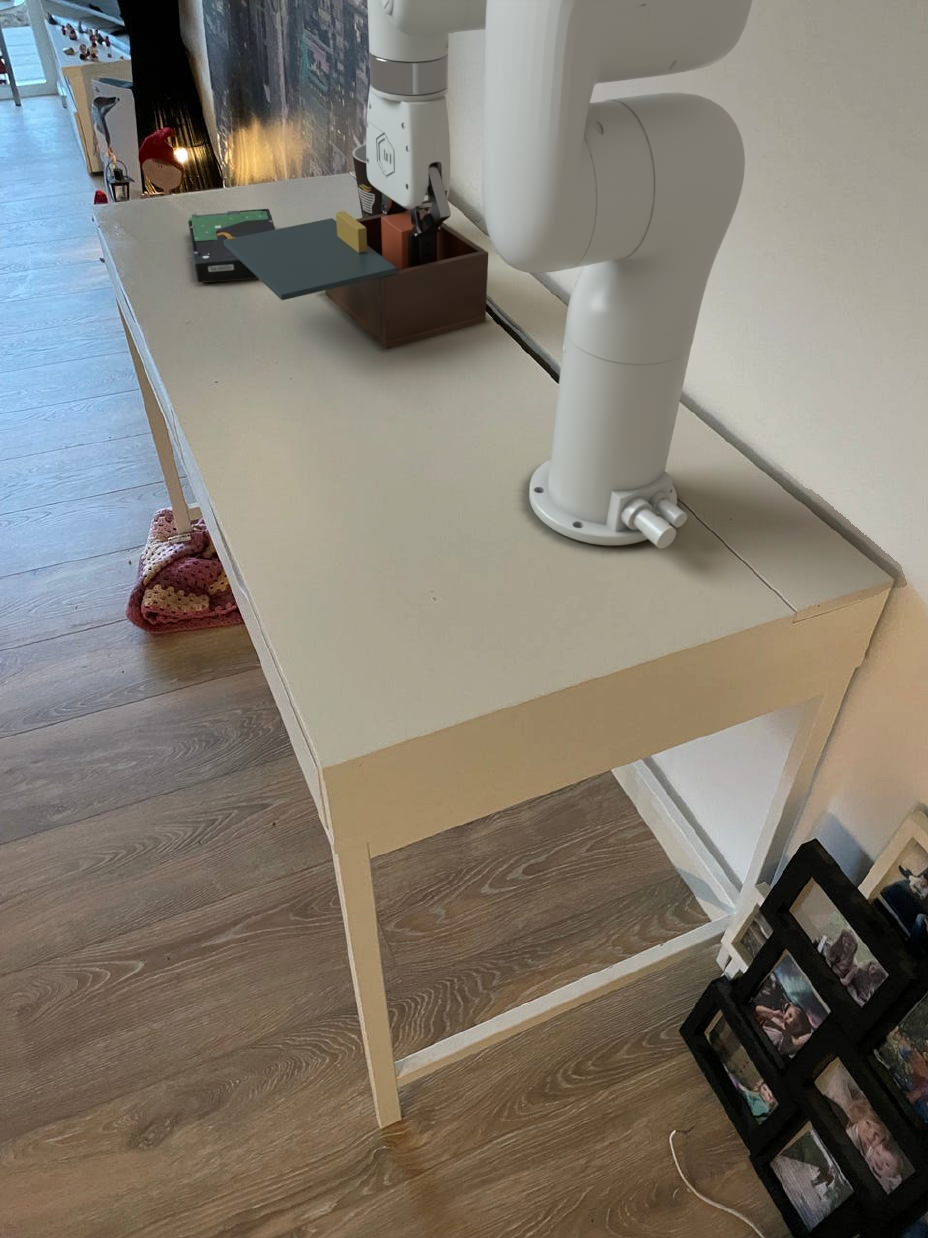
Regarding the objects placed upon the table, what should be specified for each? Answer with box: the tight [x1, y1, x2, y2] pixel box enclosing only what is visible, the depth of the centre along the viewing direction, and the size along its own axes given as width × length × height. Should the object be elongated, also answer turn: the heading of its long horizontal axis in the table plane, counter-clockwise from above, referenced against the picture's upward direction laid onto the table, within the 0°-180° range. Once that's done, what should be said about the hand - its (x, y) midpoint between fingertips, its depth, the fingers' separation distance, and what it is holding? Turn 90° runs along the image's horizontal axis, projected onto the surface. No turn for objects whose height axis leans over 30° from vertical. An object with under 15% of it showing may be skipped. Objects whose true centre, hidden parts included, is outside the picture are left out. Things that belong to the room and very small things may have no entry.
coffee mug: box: [351, 143, 429, 218], centre depth 116 cm, size 12×9×10 cm
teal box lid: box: [224, 210, 397, 301], centre depth 96 cm, size 15×13×3 cm
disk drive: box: [187, 208, 276, 283], centre depth 114 cm, size 10×3×15 cm
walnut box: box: [324, 209, 489, 349], centre depth 104 cm, size 15×13×8 cm
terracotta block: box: [381, 211, 438, 270], centre depth 102 cm, size 4×4×4 cm
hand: (410, 258), depth 103 cm, fingers closed on terracotta block, 4 cm apart
